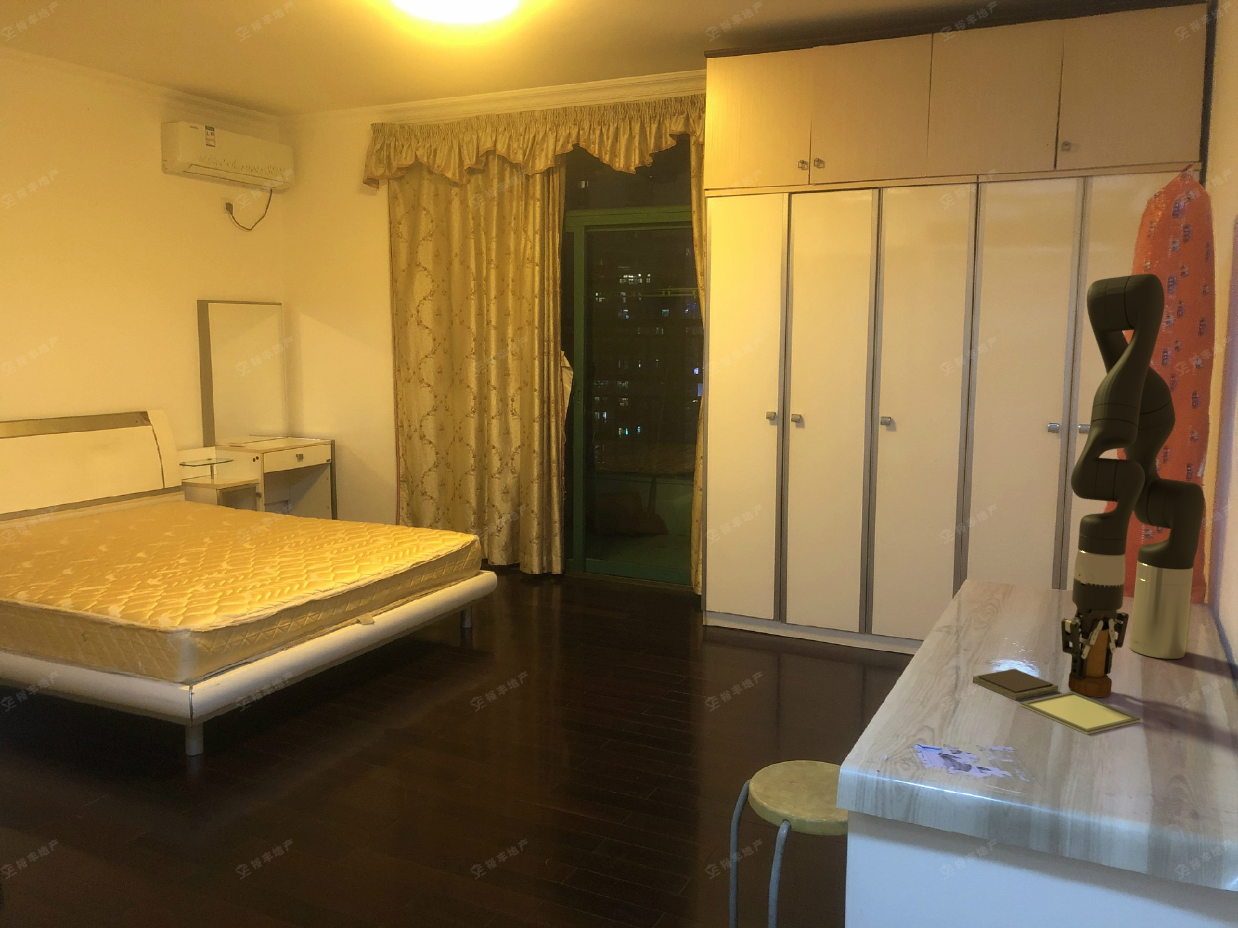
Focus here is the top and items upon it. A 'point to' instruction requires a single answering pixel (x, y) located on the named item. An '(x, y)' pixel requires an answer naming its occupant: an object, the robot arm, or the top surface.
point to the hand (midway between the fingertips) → (1090, 674)
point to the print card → (1080, 712)
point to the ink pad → (1015, 684)
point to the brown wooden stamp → (1094, 670)
